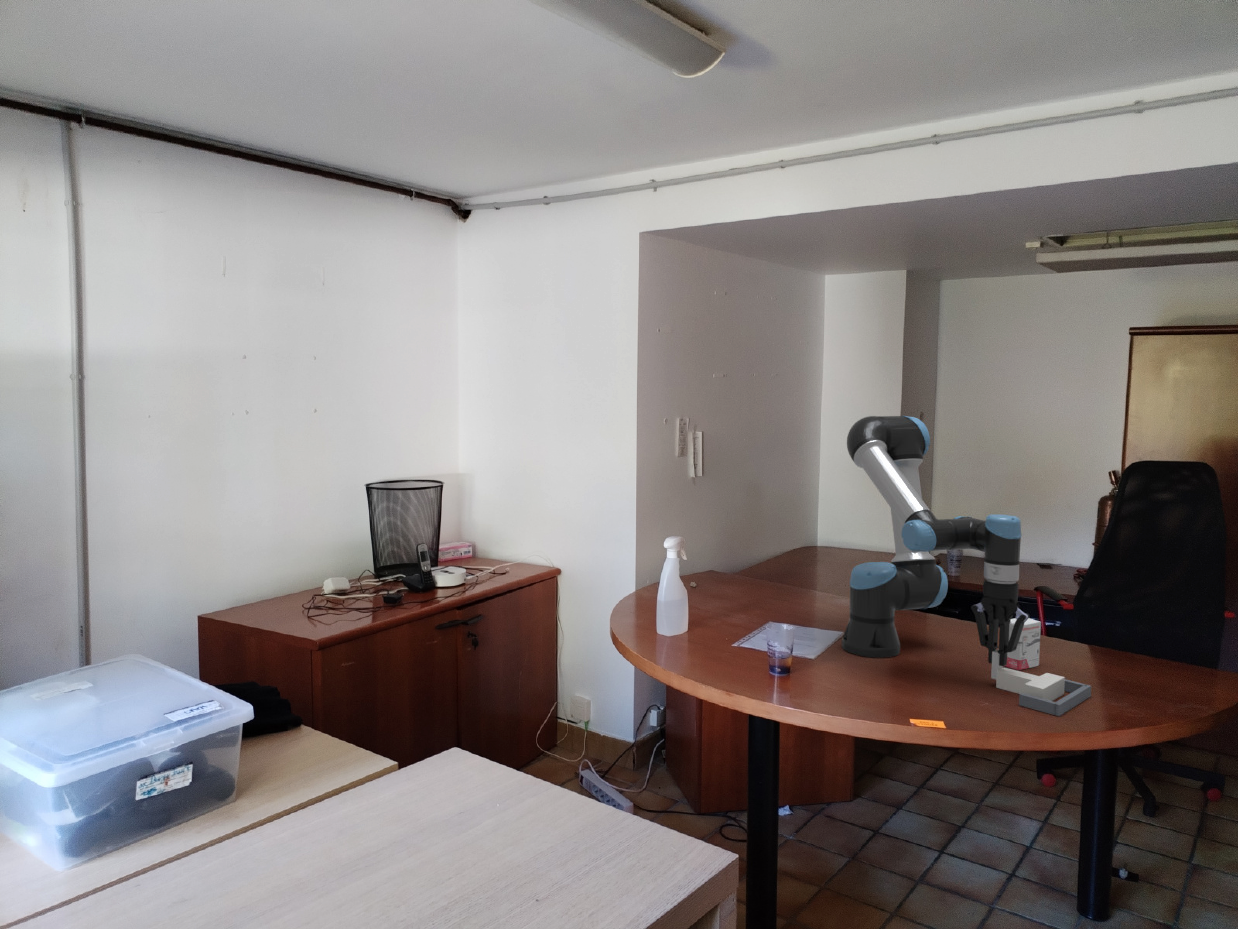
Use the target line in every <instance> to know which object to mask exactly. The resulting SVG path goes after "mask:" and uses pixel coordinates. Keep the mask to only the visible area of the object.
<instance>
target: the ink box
mask: <svg viewBox="0 0 1238 929" xmlns="http://www.w3.org/2000/svg"><path fill="white" fill-rule="evenodd" d="M1016 620H1017V619H1016V617H1015V618H1011V621H1010V624H1009V640H1010V637H1011V633H1012V630H1013V627H1014V624H1015V622H1016ZM1041 627H1042V622H1041V621H1039V620H1035V619H1033V618H1030V617H1029V618H1028V619H1027V621H1026V622H1025V623H1024V626H1023V629H1022V632H1021V636H1020V639H1019V642H1018V645H1017V648H1016V650H1015V651H1012V652H1008V653H1007V664H1006V665H1005V666H1004V667H1005V668H1008V669H1012V670H1016V671H1023V670H1026V669H1031V668H1034V667H1038V666H1040V651H1041V650H1040V647H1041V629H1042V628H1041Z"/></svg>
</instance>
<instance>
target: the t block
mask: <svg viewBox="0 0 1238 929" xmlns="http://www.w3.org/2000/svg"><path fill="white" fill-rule="evenodd" d="M1065 679H1066V677H1065V676H1061V675H1057V674H1053V673H1049V672H1045V673H1044V674H1041V675H1037V674H1036V675H1035V674H1032V673H1028V672H1023V671H1021V670H1016V669H1012V668H1009V667H1003V668H1002V669H1000V670H998V671H997V678H996V679H995V681H996V683H995V688H997V689H1000V690H1004V691H1007V692H1011V693H1015V694H1021V693H1024V694H1027V695H1031V696H1035V697H1039V698H1042V699H1046V700H1050V701H1053V702H1054V701H1055V700H1056V699H1058V698H1060V697H1061V696H1064V695H1065V691H1064V686H1065Z"/></svg>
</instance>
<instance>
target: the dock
mask: <svg viewBox="0 0 1238 929" xmlns="http://www.w3.org/2000/svg"><path fill="white" fill-rule="evenodd" d="M1065 692H1066V693H1069V694H1067V695H1065V696H1063V697H1062V698H1060V699H1058V700H1057V701H1054V700H1053V701H1050V700H1046V699H1042V698H1039V697H1035V696H1031V695H1027V694H1024V693H1021V694H1019V695H1018V696H1019V697H1018V706H1020V707H1021V706H1022V707H1024V708H1029V709H1032V710H1035V711H1037V712H1038V711H1039V712H1042V713H1046V714H1049V715H1053V716H1055V717H1060V716H1063V715H1064V714H1065V713H1067V712H1068V711H1070V710H1071V709H1073V708H1075V707H1076V706H1078V705H1079V704H1081V703H1082V702H1084V701H1086V700H1087V699H1089V698H1090V697H1091V695H1092V685H1090V684H1087V683H1083V682H1082V683H1081V682H1078V681H1073V680H1069V679H1066V678H1065V686H1064V693H1065Z"/></svg>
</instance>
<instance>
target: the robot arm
mask: <svg viewBox="0 0 1238 929" xmlns="http://www.w3.org/2000/svg"><path fill="white" fill-rule="evenodd" d="M930 445H931V438H930V433H929V430H928V426H926V424H925V423H924V422H923V421H922V420H921V419H919V418H917V417H915V416H906V415H889V416H888V415H887V416H886V415H884V416H881V415H880V416H878V415H877V416H876V415H869V416H865V417H862V418H860V419H858V420H857V421H856V422H855V423H854V424H853V425H852V426H851V428H850V429H849V430H848V433H847V438H846V449H847V452H848V454H849V457H850V458H851V460H852V462H853V463H854V465H855V466H856V467H859V468H861V469H863V471H864V472H865V473H866V475H867V476H868V478H869V479H870V480H871V482H872V483H873V485H874V486H875V488H876V490H878V492H879V494H880V495H881V496H882V497H883V499H884V501H886V503H887V505H888V506H889V507H890V515H891V523H892V525H891V526H892V532H893V541H894V542H893V543H894V549H895V550H894V551H895V555H894V557H893V558H892V559H891V560H890V562H887V561H878V562H876V561H869V562H868V561H867V562H863V563H860V564H858V565H855V566H854V567H853V568H852V569H851V573H850V579H849V586H850V588H849V589H850V590H849V620H848V622H847V625H846V627H845V631H844V633H843V636H842V639H841V647H842V649H843V651H846V652H848V653H851V654H853V655H857V656H861V657H867V658H876V659H877V658H880V659H881V658H890V657H891V658H892V657H896V656H898V655H899V654H900V653H901V642H900V638H899V636H898V635H899V634H898V631H897V629H896V626H895V611H907V610H909V611H910V610H919V609H920V610H926V609H928V608H934V607H935V608H936V607H937V606H939V605H941V604H942V602H943V601H944V599H945V598H946V596H947V593H948V587H949V586H948V585H949V580H948V577H947V573H946V572H944V571H945V570H944V569H943V567H941V566H940V565H937V562H936V558H935V557H934V556H933V555H932V554H931V553H930V552H931V551H932V552H934V551H936V552H937V551H953V550H954V551H955V550H976V551H980V552H984V557H983V558H984V559H983V561H984V564H983V577H984V578H985V579H984V580H983V582H982V587H983V588H982V599H980V602H978V603H976V604H973V605H971V606H970V609H971V610H972V613H973V614H974V617H975V621H976V622H975V623H976V628H977V632H978V637H979V643H980V646H982V647H985V648H986V649H987V650H988V655H987V656H988V657H987V658H988V660H987V662H988V663H989V664H991V671H990V673H991V675H990V676H991V677H990V679H992V680H996V678H997V671H998V670H1000V669H1002V668H1004V667H1006V666H1005V665H1006V664H1007V653H1008V652H1012V651H1015V650H1016V648H1017V645H1018V642H1019V639H1020V636H1021V632H1022V629H1023V626H1024V623H1025V622H1026V621H1027V619H1028V618H1030V614H1029V613H1028V612H1026V613H1025V612H1024V611H1022V610H1021V609H1020V605H1019V602H1018V600H1019V599H1018V598H1019V583H1018V581H1019V579H1020V561H1021V560H1020V558H1021V557H1020V556H1021V540H1022V539H1021V538H1022V526H1021V524H1022V523H1021V520H1020V518H1019V517H1018V516H1014V515H1011V514H1010V515H1009V514H989V515H987V516H986V517H985V520H983V519H979V518H975V517H972V516H961V515H960V516H956V517H953V518H950V519H949V518H947V519H946V518H944V519H939V518H937V517H936V516H935V514H934V513H933V512H932V511H931V509H929V507H928V505H927V504H926V503H925V501H924V500H923V496H922V487H921V481H920V480H921V479H920V472H919V471H920V470H919V467H920V466H921V464H922V463H923V462H924V456H925V455H926V454H927V453H928V451H929V447H930ZM984 611H985V612H986V613H985V612H984ZM985 614H987V620H986V615H985ZM1014 615H1015V618H1016V619H1017V620H1016V622H1015V624H1014V627H1013V630H1012V633H1011V637H1010V640H1009V624H1010V621H1011V619H1013V617H1014ZM987 622H988V625H987Z"/></svg>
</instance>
